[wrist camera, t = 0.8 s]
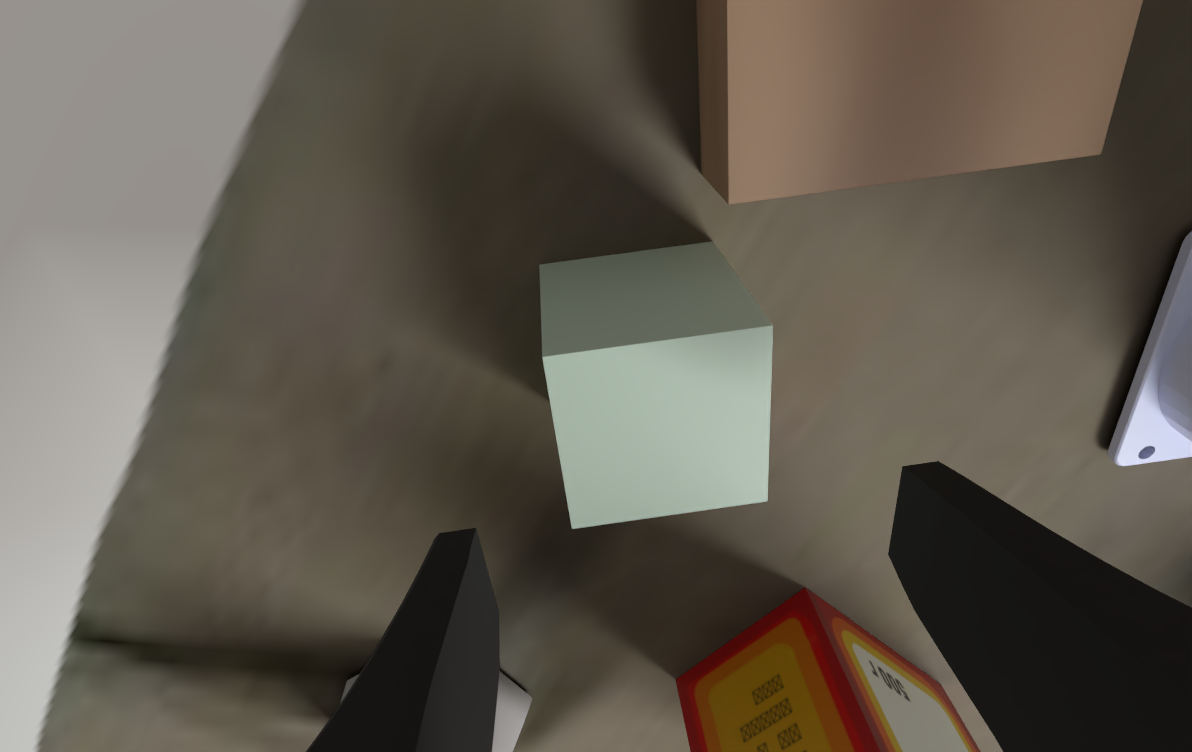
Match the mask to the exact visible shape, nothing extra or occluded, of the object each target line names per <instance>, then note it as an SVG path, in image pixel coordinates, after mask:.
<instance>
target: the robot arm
mask: <svg viewBox="0 0 1192 752" xmlns="http://www.w3.org/2000/svg"><path fill="white" fill-rule="evenodd" d="M1108 457H1109V458H1110V459H1111V460H1112V461H1113V462H1115V463H1116V464H1117V465H1120V466H1129V465H1136V464H1143V463H1150V462H1157V461H1164V460H1171V459H1178V458H1185V457H1192V231H1191V232H1190V233H1189V234H1188V235H1187V236H1186V237H1185V239H1184V241H1183V243H1182V245H1181V248H1180V251H1179V254H1178V256H1177V259H1176V262H1175V265H1174V268H1173V270H1172V273H1171V276H1170V279H1169V282H1168V284H1167V287H1166V290H1165V293H1164V295H1163V298H1162V301H1161V304H1160V307H1159V309H1158V312H1157V315H1156V318H1155V321H1154V323H1153V326H1152V329H1151V332H1150V335H1149V337H1148V340H1147V343H1146V346H1145V349H1144V351H1143V354H1142V357H1141V360H1140V362H1139V365H1138V368H1137V371H1136V374H1135V376H1134V379H1133V382H1132V385H1131V388H1130V390H1129V393H1128V396H1127V399H1126V402H1125V404H1124V407H1123V410H1122V413H1121V416H1120V418H1119V421H1118V424H1117V427H1116V429H1115V432H1114V435H1113V438H1112V441H1111V443H1110V446H1109V449H1108ZM888 555H889V557H890V559H891V561H892V564H893V566H894V568H895V570H896V572H897V575H898V577H899V579H900V581H901V583H902V586H903V588H904V590H905V592H906V594H907V596H908V598H909V600H910V602H911V604H912V606H913V608H914V610H915V612H916V613H917V615H918V617H919V618H920V620H921V621H922V623H923V625H924V626H925V628H926V629H927V631H928V633H929V634H930V636H931V637H932V639H933V641H934V642H935V644H936V645H937V647H938V649H939V650H940V652H941V653H942V655H943V657H944V658H945V660H946V661H947V663H948V664H949V666H950V667H951V669H952V671H953V672H954V674H955V675H956V677H957V678H958V680H959V682H960V683H961V685H962V686H963V688H964V689H965V691H966V693H967V694H968V696H969V697H970V699H971V700H972V702H973V703H974V705H975V707H976V708H977V710H978V711H979V713H980V714H981V716H982V718H983V719H984V721H985V722H986V724H987V725H988V727H989V729H990V730H991V732H992V733H993V735H994V736H995V738H996V740H997V741H998V743H999V745H1000V747H1001V748H1002V750H1003V752H1192V608H1191V607H1189V606H1187V605H1185V604H1183V603H1181V602H1179V601H1177V600H1175V599H1173V598H1171V597H1169V596H1167V595H1165V594H1163V593H1161V592H1159V591H1158V590H1156V589H1154V588H1152V587H1150V586H1148V585H1146V584H1144V583H1143V582H1141V581H1139V580H1137V579H1135V578H1133V577H1132V576H1130V575H1128V574H1126V573H1124V572H1123V571H1121V570H1119V569H1117V568H1115V567H1113V566H1112V565H1110V564H1108V563H1106V562H1104V561H1102V560H1101V559H1099V558H1097V557H1096V556H1094V555H1092V554H1090V553H1089V552H1087V551H1085V550H1083V549H1082V548H1080V547H1078V546H1076V545H1075V544H1073V543H1071V542H1070V541H1068V540H1066V539H1065V538H1063V537H1061V536H1060V535H1058V534H1056V533H1055V532H1053V531H1051V530H1050V529H1048V528H1046V527H1045V526H1043V525H1041V524H1040V523H1038V522H1036V521H1035V520H1033V519H1032V518H1030V517H1028V516H1027V515H1025V514H1023V513H1022V512H1020V511H1019V510H1017V509H1015V508H1014V507H1012V506H1011V505H1009V504H1007V503H1006V502H1004V501H1003V500H1001V499H999V498H998V497H996V496H995V495H993V494H991V493H990V492H988V491H987V490H985V489H983V488H982V487H980V486H979V485H977V484H975V483H974V482H972V481H971V480H969V479H967V478H966V477H964V476H962V475H961V474H959V473H957V472H956V471H954V470H952V469H951V468H949V467H947V466H946V465H944V464H942V463H940V462H939V461H937V462H930V463H923V464H916V465H909V466H903V467H902V473H901V479H900V485H899V491H898V497H897V504H896V510H895V516H894V522H893V528H892V534H891V540H890V547H889V553H888ZM499 672H500V660H499V610H498V607H497V603H496V599H495V596H494V592H493V588H492V585H491V581H490V577H489V574H488V570H487V566H486V563H485V559H484V555H483V552H482V548H481V544H480V541H479V537H478V533H477V530H476V528H472V529H465V530H458V531H452V532H445V533H439V535H438V536H437V537H436V538H435V539H434V541H433V543H432V545H431V547H430V549H429V552H428V554H427V556H426V558H425V560H424V562H423V564H422V566H421V568H420V570H419V572H418V574H417V575H416V577H415V579H414V581H413V583H412V585H411V587H410V589H409V591H408V592H407V594H406V596H405V598H404V600H403V602H402V604H401V605H400V607H399V609H398V611H397V612H396V614H395V616H394V618H393V619H392V621H391V623H390V625H389V626H388V628H387V630H386V632H385V633H384V635H383V637H382V638H381V640H380V642H379V644H378V645H377V647H376V649H375V650H374V652H373V654H372V655H371V657H370V658H369V660H368V662H367V663H366V665H365V666H364V668H363V669H362V671H361V672H360V674H359V676H358V677H357V679H356V680H355V682H354V683H353V685H352V686H351V688H350V690H349V691H348V693H347V694H346V696H345V697H344V699H343V700H342V702H341V703H340V705H339V706H338V708H337V709H336V711H335V712H334V714H333V715H332V716H331V718H330V719H329V721H328V722H327V724H326V725H325V726H324V728H323V729H322V731H321V732H320V733H319V735H318V736H317V738H316V739H315V740H314V742H313V743H312V744H311V746H310V747H309V748H308V750H307V751H306V752H492V746H493V736H494V726H495V716H496V705H497V694H498V684H499Z"/></svg>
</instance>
